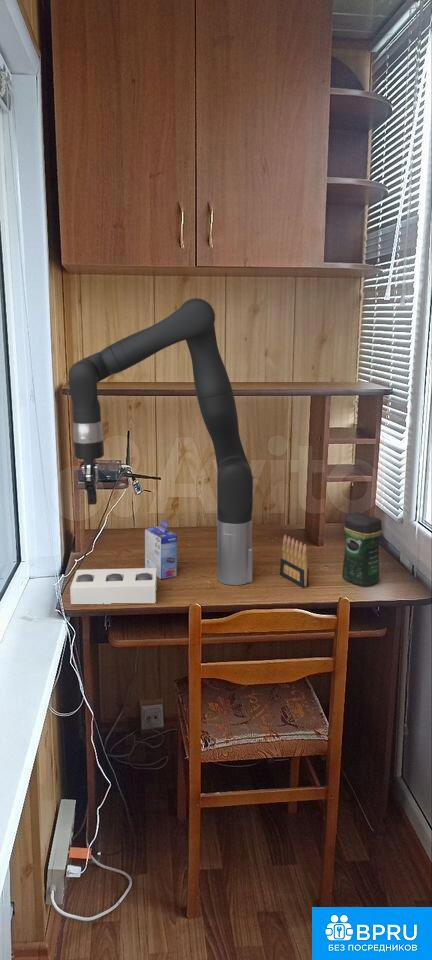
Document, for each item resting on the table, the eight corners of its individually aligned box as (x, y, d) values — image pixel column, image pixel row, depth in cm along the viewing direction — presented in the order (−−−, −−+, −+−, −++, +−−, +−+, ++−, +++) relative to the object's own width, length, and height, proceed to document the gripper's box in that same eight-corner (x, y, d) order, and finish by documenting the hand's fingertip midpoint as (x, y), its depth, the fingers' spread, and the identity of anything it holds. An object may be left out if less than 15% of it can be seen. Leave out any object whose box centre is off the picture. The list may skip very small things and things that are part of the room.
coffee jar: (384, 582, 190) (388, 516, 185) (364, 589, 185) (367, 522, 180) (357, 571, 197) (360, 508, 193) (337, 578, 193) (339, 513, 188)
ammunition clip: (308, 586, 187) (310, 544, 184) (303, 588, 186) (304, 545, 183) (285, 573, 196) (286, 532, 193) (279, 574, 195) (280, 533, 192)
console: (157, 585, 188) (156, 567, 187) (155, 604, 177) (155, 585, 176) (77, 587, 187) (76, 569, 186) (71, 606, 176) (70, 588, 175)
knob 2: (151, 587, 184) (151, 572, 183) (151, 592, 181) (150, 578, 179) (137, 587, 184) (137, 573, 183) (137, 593, 180) (136, 578, 179)
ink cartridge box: (178, 576, 195) (177, 526, 191) (161, 580, 192) (159, 530, 188) (161, 565, 203) (160, 517, 199) (144, 569, 200) (142, 520, 196)
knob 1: (93, 588, 183) (93, 574, 182) (92, 594, 180) (91, 579, 179) (79, 588, 183) (79, 574, 182) (78, 594, 180) (77, 579, 179)
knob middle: (122, 587, 184) (122, 573, 183) (121, 593, 180) (121, 578, 179) (109, 588, 183) (108, 573, 182) (107, 593, 180) (107, 579, 179)
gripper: (101, 443, 175) (105, 510, 179) (104, 433, 188) (108, 496, 192) (70, 444, 174) (75, 511, 179) (76, 434, 187) (80, 497, 191)
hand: (92, 503), depth 185 cm, fingers closed
